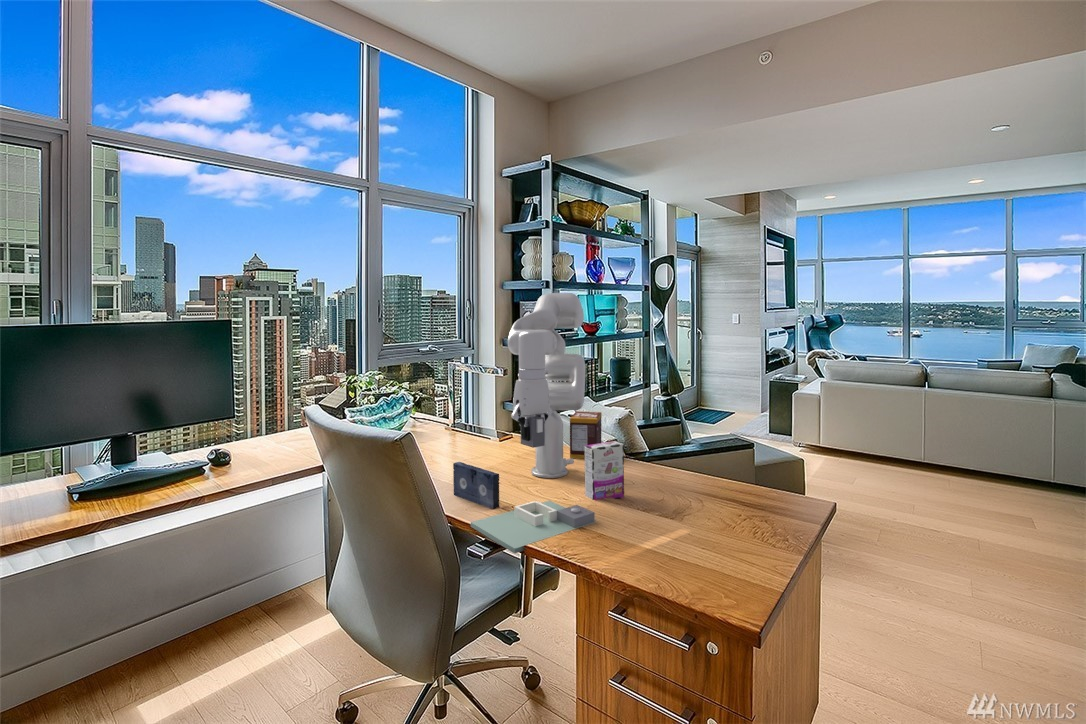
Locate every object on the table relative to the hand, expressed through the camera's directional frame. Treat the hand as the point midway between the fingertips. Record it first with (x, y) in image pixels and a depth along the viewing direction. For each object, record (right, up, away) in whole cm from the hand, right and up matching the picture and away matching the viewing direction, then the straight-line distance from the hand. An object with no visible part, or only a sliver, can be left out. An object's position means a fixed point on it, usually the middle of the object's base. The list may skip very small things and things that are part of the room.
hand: (532, 438), depth 153 cm
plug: (0, -2, 0) cm, 2 cm away
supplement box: (+20, -14, +58) cm, 63 cm away
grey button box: (+11, -19, -13) cm, 26 cm away
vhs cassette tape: (-17, -19, +6) cm, 26 cm away
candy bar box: (+21, -19, +7) cm, 29 cm away
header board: (+1, -21, -14) cm, 25 cm away
